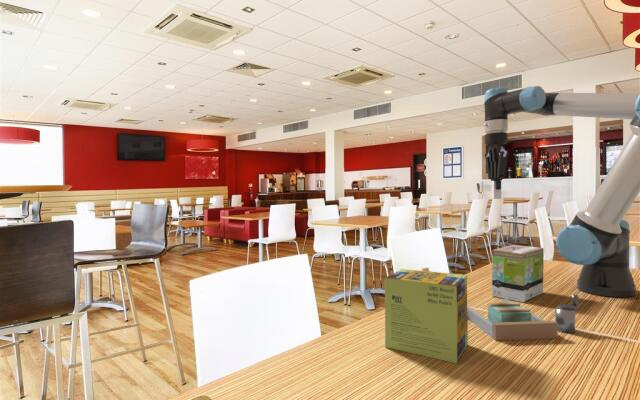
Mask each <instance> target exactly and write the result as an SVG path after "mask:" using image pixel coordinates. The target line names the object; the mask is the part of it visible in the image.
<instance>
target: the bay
mask: <svg viewBox="0 0 640 400" xmlns="http://www.w3.org/2000/svg"><path fill="white" fill-rule="evenodd" d="M510 302H512V300H509V299H504V298H502V303H510ZM467 319H468V320H469V321H471V322H472V323H473V324H475V325H476V327H478V328H479V329H481V330H482V331H483V332H484V333H485V334H487V335H488V336H489V337H491V338H492V339H493V340H494V341H517V340H518V341H520V340H544V339H545V340H546V339H558V331H557V323H556V322H555V320H545V319H543V318H541V317H539V316H538V315H536V314H534V313H532V312H531V321H526V322H498V323H491V322H489V321H488V318H487V319H486V317H484V316H483V315H481V314H480V313H479V312H477V311H476V310H475V309H473V308H472V307H470V306H469V305H468V304H467Z"/></svg>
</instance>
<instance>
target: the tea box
mask: <svg viewBox="0 0 640 400" xmlns="http://www.w3.org/2000/svg"><path fill="white" fill-rule="evenodd" d="M544 250H545V249H544V247H538V246H527V245H518V244H511V245H505V246H502V247H499V248H495V249H492V264H491V265H492V267H491V270H492V271H491V296H492V297H496V298H500V299H507V300H509V301H513V302H514V301H515V302H518V303H525V302H526V301H528V300H530V299H532V298H534V297H537V296H539V295H541V294H543V293H544V260H545V259H544V256H545V255H544V254H545V253H544V252H545V251H544Z"/></svg>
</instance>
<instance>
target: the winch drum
mask: <svg viewBox="0 0 640 400" xmlns="http://www.w3.org/2000/svg"><path fill="white" fill-rule="evenodd" d="M576 310H579V295H577V294H571V304H560V306H556V307H555V308H554V317H555V318H554V322H556V323H557V332H561V333H564V334H575V333H576Z"/></svg>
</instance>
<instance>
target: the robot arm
mask: <svg viewBox="0 0 640 400" xmlns="http://www.w3.org/2000/svg"><path fill="white" fill-rule="evenodd" d="M483 105H484V124H483V127H484V133H485V134H484V144H485V145H486V146H488V149H487V152H488V153H485V154H484V158H485V163H486V171H487V178H488V180H490V181H491V200H501V199H502V180H503V179H505V178H506V171H507V163H508V157H509V154H510V151H508V150H505V149H506V148H505V145H506V144H508V142H509V134H508V131H509V125H508V124H509V120H508V119H509V117H508V116H509V115H512V114H518V113H528V114H535V115H540V116H545V117H546V116H547V117H548V116H566V117H578V118H579V117H583V118H600V119H601V118H602V119H604V118H605V119H616V120H617V119H618V120H619V119H621V120H622V119H623V120H631V121H630V122H629V124H628V126H629V128H630V131H631V134H630V135H629V137H628V138H627V141H626V142H625V144H624V146H622V148H621V150H620V152H619V153H618V155H617V157H616V159H615V161H613V164H612V165H611V167H610V169H609V170H608V172H607V174H606V176H605V178H604V179H603V180H602V182H601V184H600V186H599V187H598V189H597V191H596V192H595V194H594V196H593V197H592V199H591V201H590V202H589V203H588V205H587V207H586V209H584V210H581V211H577V213H576V214H575V216H574V217H573V219H572V221H571V222H570V224H569V225H568V226H567V225H566V226H565V227H564V228H562V229H561V230H560V231H559V232H558V234H557V235H556V238H555V244H556V248H557V251H558V253H559V254H560V255H561V256H562V258H564V260H566V261H567V262H569V263H571V264H574V265H578V266H582V267H581V270H580V271H579V276H578V278H577V280H576V288H577V289H578V290H580V291H582V292H585V293H588V294H592V295H595V296H596V295H598V296H602V297H603V296H605V297H613V298H630V297H634V296H636V295H637V286H636V284H635V281H634V278H633V275H632V273H631V270H630V233H631V230H630V223H629V222H628V221H627V220H625V219H623V218H624V217H625V215H627V213H628V211H629V209H630V207H631V206H632V205H633V203H634V202H635V200H636V199H637V197H638V196H639V194H640V92H627V93H626V92H545V89H543V87H542V86H540V85H533V86H527V87H524V88H521V89H520V88H519V89H517V90H512V91H508V89H507V87H495V88H490V89H488V90H486V91H485V93H484V102H483Z"/></svg>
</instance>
